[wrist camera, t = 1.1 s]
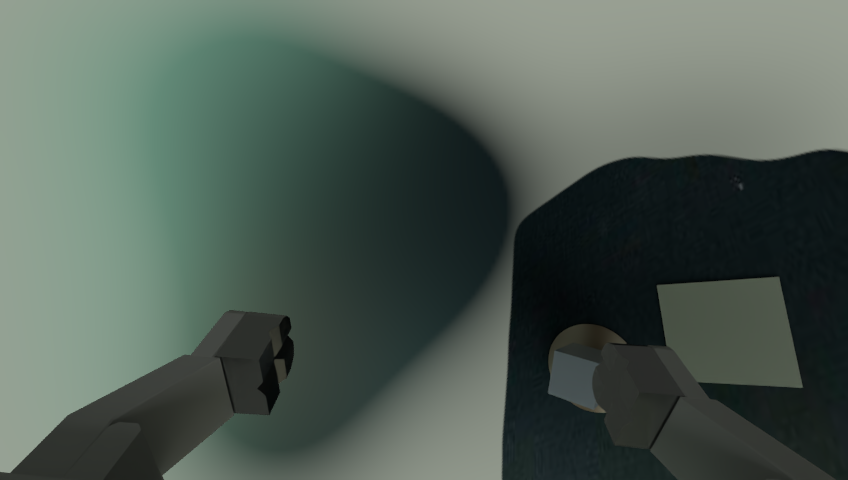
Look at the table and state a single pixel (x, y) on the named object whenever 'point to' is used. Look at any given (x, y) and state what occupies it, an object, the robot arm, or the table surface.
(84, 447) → the robot arm
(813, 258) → the table surface
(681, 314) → the sage mat
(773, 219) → the table surface
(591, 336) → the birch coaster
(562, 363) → the grey block
